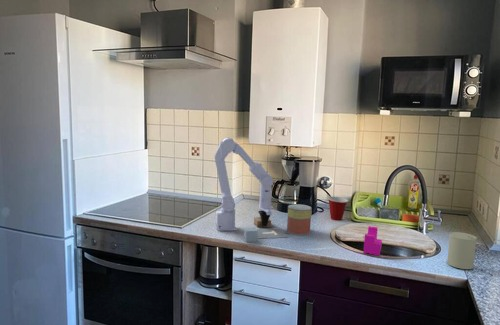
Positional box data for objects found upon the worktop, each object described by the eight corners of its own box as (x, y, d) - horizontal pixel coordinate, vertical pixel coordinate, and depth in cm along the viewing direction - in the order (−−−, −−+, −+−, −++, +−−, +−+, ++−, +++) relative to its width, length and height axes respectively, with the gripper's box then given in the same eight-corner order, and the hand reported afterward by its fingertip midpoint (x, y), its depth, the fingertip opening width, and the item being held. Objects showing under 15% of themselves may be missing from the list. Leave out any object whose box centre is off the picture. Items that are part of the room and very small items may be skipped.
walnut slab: (257, 228, 186) (257, 221, 186) (253, 224, 193) (254, 217, 193) (270, 227, 188) (271, 220, 188) (267, 223, 195) (267, 216, 194)
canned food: (314, 231, 184) (315, 206, 182) (303, 236, 174) (304, 211, 173) (293, 226, 190) (295, 203, 188) (282, 231, 181) (283, 207, 179)
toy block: (379, 255, 154) (380, 237, 153) (363, 253, 156) (364, 235, 155) (382, 244, 167) (383, 228, 166) (367, 242, 170) (368, 226, 169)
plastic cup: (345, 223, 197) (346, 201, 196) (324, 221, 201) (326, 199, 200) (348, 218, 207) (349, 197, 206) (328, 216, 211) (329, 195, 210)
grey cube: (246, 242, 164) (246, 231, 164) (243, 238, 169) (244, 227, 169) (257, 241, 166) (257, 230, 165) (254, 238, 170) (254, 227, 170)
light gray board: (258, 238, 169) (258, 238, 169) (251, 229, 183) (251, 229, 183) (288, 237, 173) (288, 236, 173) (278, 228, 186) (278, 227, 186)
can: (466, 271, 140) (470, 240, 138) (442, 263, 147) (445, 233, 146) (478, 266, 145) (481, 235, 144) (453, 258, 153) (456, 229, 151)
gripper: (277, 201, 178) (276, 229, 180) (269, 195, 192) (268, 221, 194) (263, 202, 176) (262, 230, 178) (255, 195, 190) (254, 221, 192)
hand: (264, 225), depth 186 cm, fingers closed
